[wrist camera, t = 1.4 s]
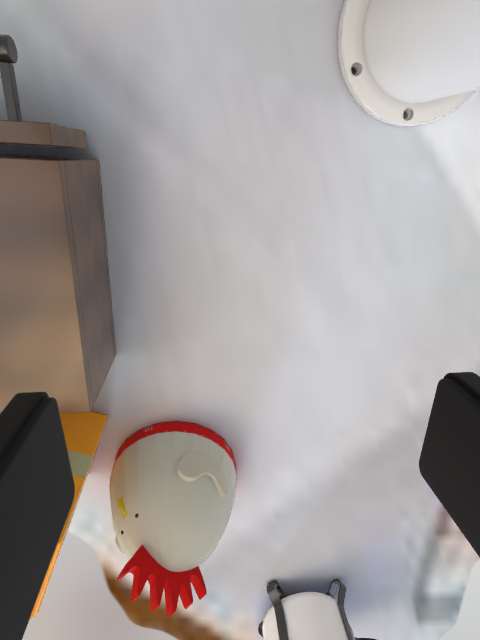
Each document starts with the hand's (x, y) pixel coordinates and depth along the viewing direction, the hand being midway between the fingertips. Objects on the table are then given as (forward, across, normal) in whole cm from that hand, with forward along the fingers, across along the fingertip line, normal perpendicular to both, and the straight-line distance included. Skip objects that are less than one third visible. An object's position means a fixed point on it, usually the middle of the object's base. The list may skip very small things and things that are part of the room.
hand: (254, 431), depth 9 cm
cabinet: (+27, +16, +2) cm, 31 cm away
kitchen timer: (+27, +5, +27) cm, 38 cm away
